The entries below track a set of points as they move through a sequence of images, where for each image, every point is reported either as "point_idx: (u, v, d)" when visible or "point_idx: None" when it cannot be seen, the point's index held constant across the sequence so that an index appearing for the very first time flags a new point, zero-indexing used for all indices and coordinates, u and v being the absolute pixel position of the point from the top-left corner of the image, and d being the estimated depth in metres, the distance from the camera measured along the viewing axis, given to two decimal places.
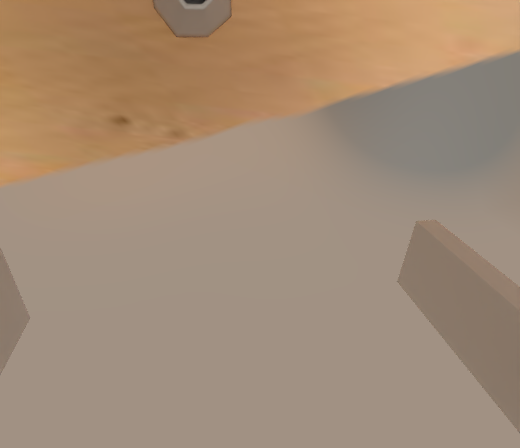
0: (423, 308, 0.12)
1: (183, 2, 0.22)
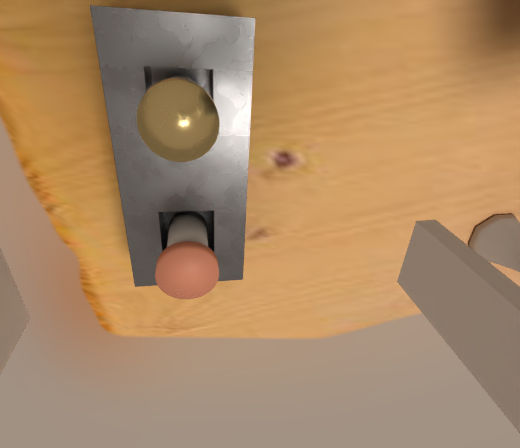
0: (423, 308, 0.12)
1: None
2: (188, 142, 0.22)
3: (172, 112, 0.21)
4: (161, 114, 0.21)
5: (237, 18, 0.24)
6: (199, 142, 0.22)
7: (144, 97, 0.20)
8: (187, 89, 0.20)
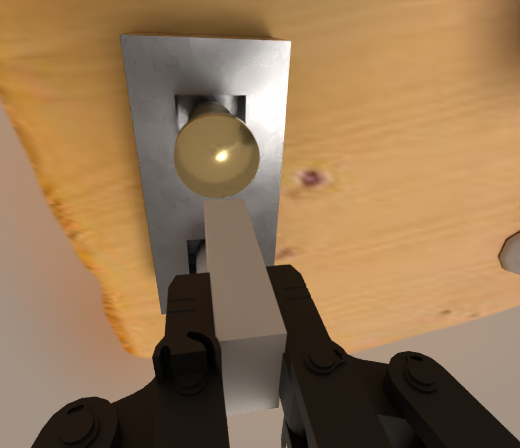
0: None
1: None
2: (226, 178, 0.20)
3: (211, 148, 0.19)
4: (199, 151, 0.19)
5: (272, 42, 0.23)
6: (238, 177, 0.21)
7: (182, 134, 0.19)
8: (227, 124, 0.19)
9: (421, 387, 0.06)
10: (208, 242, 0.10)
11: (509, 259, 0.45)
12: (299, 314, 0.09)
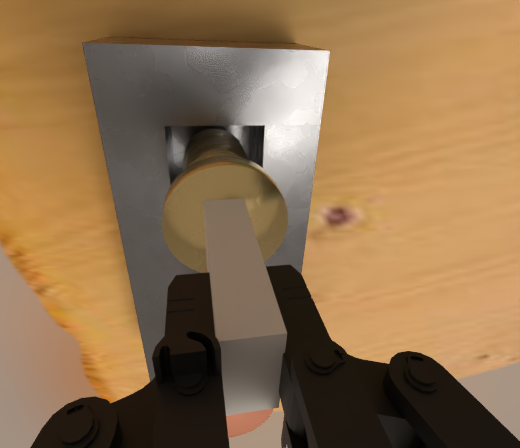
0: None
1: None
2: None
3: None
4: (200, 215, 0.13)
5: (303, 52, 0.16)
6: None
7: (174, 194, 0.12)
8: (242, 178, 0.13)
9: (421, 387, 0.06)
10: (208, 242, 0.10)
11: None
12: (300, 314, 0.09)
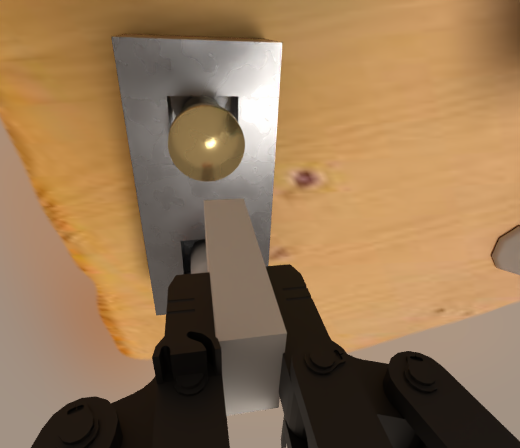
0: None
1: None
2: (215, 163, 0.23)
3: (201, 136, 0.22)
4: (190, 138, 0.22)
5: (263, 43, 0.23)
6: (226, 162, 0.23)
7: (175, 123, 0.21)
8: (215, 114, 0.21)
9: (422, 387, 0.06)
10: (208, 242, 0.10)
11: (501, 257, 0.46)
12: (300, 314, 0.09)
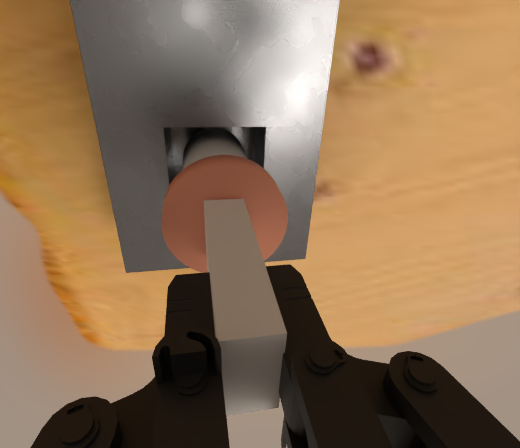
0: None
1: None
2: None
3: None
4: None
5: None
6: None
7: None
8: None
9: (422, 388, 0.06)
10: (208, 242, 0.10)
11: None
12: (300, 314, 0.09)
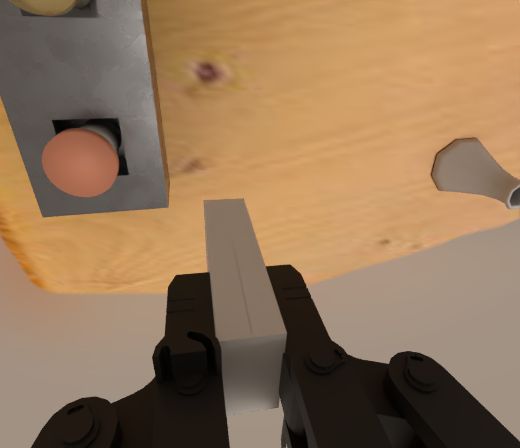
0: None
1: (510, 206, 0.36)
2: None
3: None
4: None
5: None
6: None
7: None
8: None
9: (421, 387, 0.06)
10: (208, 242, 0.10)
11: (440, 175, 0.43)
12: (300, 314, 0.09)
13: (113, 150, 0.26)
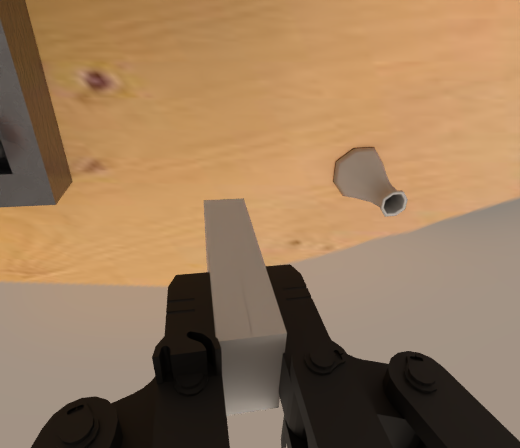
0: None
1: (385, 213, 0.39)
2: None
3: None
4: None
5: None
6: None
7: None
8: None
9: (421, 387, 0.06)
10: (208, 242, 0.10)
11: (339, 181, 0.46)
12: (300, 314, 0.09)
13: None
